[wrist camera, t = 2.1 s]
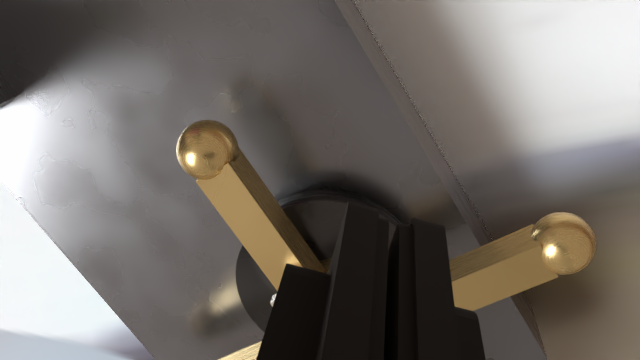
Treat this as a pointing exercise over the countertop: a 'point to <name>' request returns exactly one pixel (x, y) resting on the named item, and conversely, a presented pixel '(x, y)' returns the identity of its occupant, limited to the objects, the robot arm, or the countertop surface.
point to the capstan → (324, 225)
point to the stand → (253, 139)
